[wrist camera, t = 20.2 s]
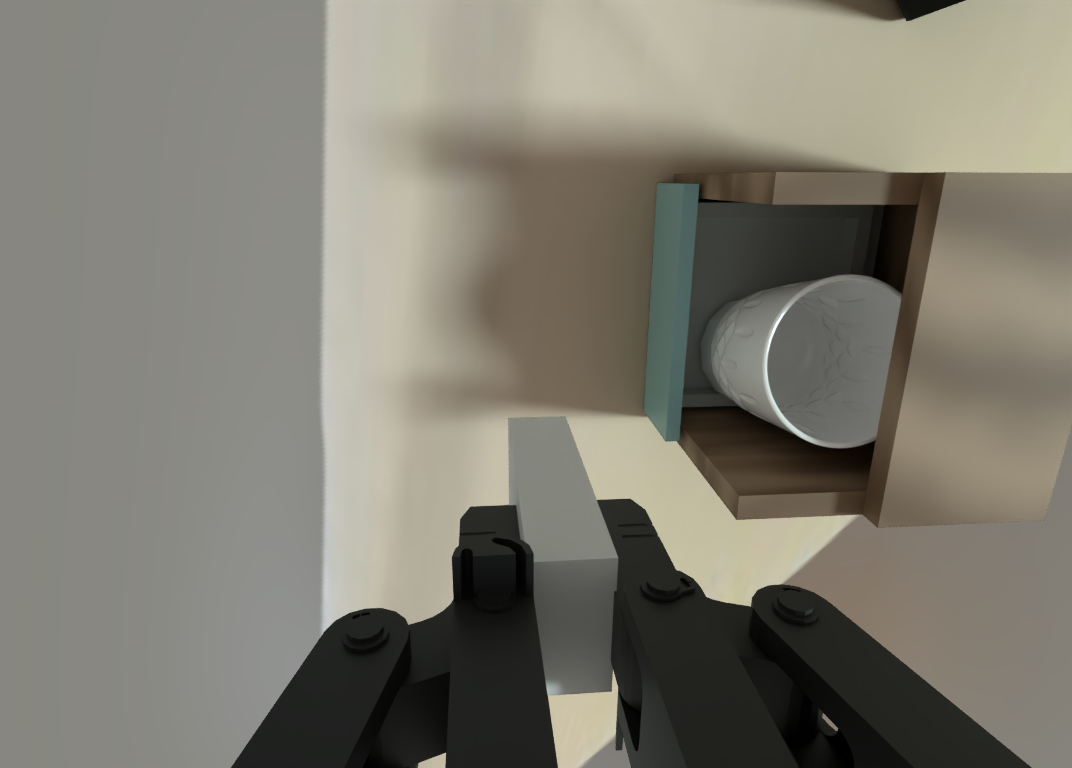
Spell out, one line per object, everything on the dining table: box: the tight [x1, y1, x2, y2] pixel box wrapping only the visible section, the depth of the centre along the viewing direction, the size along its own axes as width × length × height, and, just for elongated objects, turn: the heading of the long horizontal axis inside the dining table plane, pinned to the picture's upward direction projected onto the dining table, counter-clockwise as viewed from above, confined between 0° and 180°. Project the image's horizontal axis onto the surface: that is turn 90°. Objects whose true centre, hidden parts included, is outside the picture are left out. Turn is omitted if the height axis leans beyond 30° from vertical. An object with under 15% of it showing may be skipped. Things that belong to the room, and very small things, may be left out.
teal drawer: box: [644, 183, 885, 441], centre depth 37 cm, size 14×13×5 cm
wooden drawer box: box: [675, 172, 1072, 528], centre depth 33 cm, size 15×14×14 cm
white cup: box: [700, 274, 902, 448], centre depth 34 cm, size 8×8×10 cm
